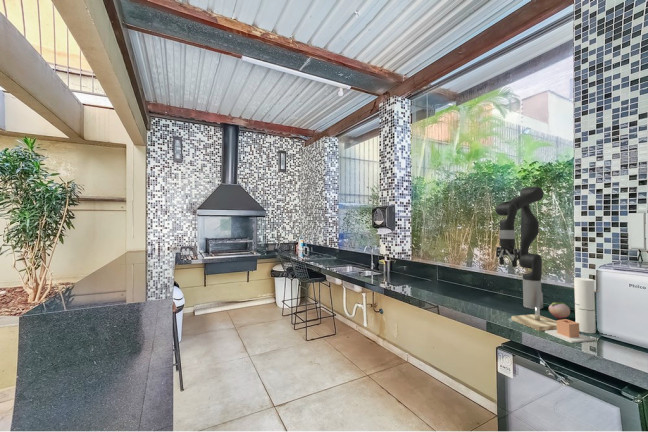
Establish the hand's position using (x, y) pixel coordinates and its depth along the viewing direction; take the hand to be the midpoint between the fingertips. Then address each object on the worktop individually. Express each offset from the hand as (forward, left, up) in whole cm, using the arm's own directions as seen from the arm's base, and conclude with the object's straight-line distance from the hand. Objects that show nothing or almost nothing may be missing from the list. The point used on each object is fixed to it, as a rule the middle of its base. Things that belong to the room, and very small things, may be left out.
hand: (507, 265), depth 161 cm
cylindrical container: (-16, +28, -28) cm, 43 cm away
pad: (-1, +32, -28) cm, 42 cm away
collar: (-1, +32, -27) cm, 42 cm away
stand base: (-2, +16, -28) cm, 32 cm away
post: (-2, +16, -26) cm, 30 cm away
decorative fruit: (-20, +13, -28) cm, 37 cm away
